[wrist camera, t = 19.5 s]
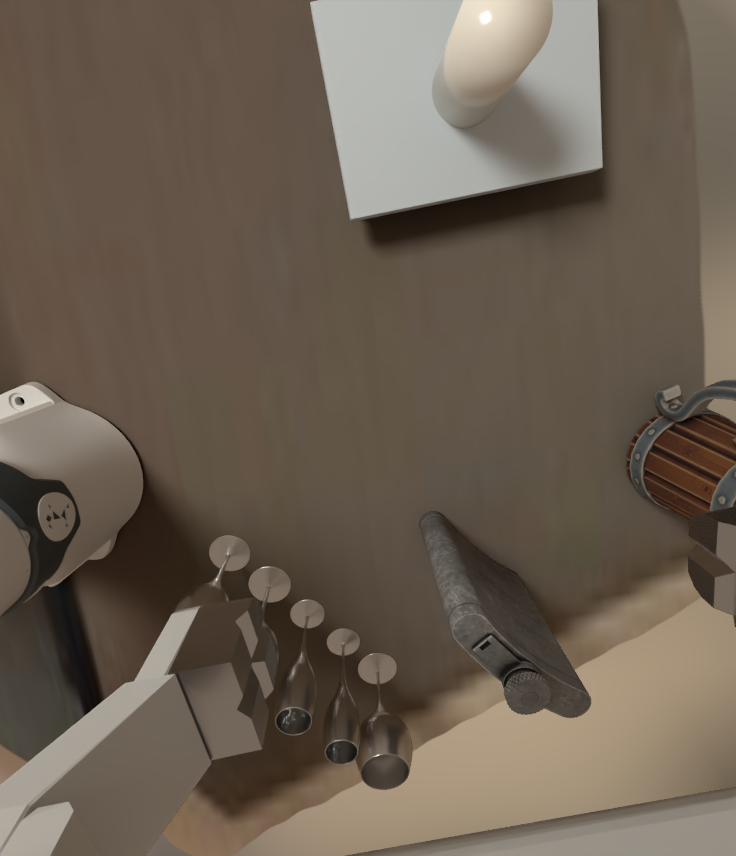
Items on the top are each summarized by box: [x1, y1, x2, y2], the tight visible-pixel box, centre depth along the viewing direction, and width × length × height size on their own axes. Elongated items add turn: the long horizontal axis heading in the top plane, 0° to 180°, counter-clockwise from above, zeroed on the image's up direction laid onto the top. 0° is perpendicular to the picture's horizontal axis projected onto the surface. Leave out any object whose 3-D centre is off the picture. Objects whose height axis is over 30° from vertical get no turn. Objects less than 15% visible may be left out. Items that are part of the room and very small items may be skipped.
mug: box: [626, 380, 736, 520], centre depth 38 cm, size 16×11×15 cm
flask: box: [420, 511, 591, 718], centre depth 40 cm, size 4×14×18 cm, turn 49°
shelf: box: [310, 0, 603, 222], centre depth 35 cm, size 20×14×4 cm
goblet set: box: [171, 535, 412, 790], centre depth 44 cm, size 28×6×13 cm, turn 45°
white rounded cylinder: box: [432, 0, 553, 128], centre depth 28 cm, size 5×5×9 cm
